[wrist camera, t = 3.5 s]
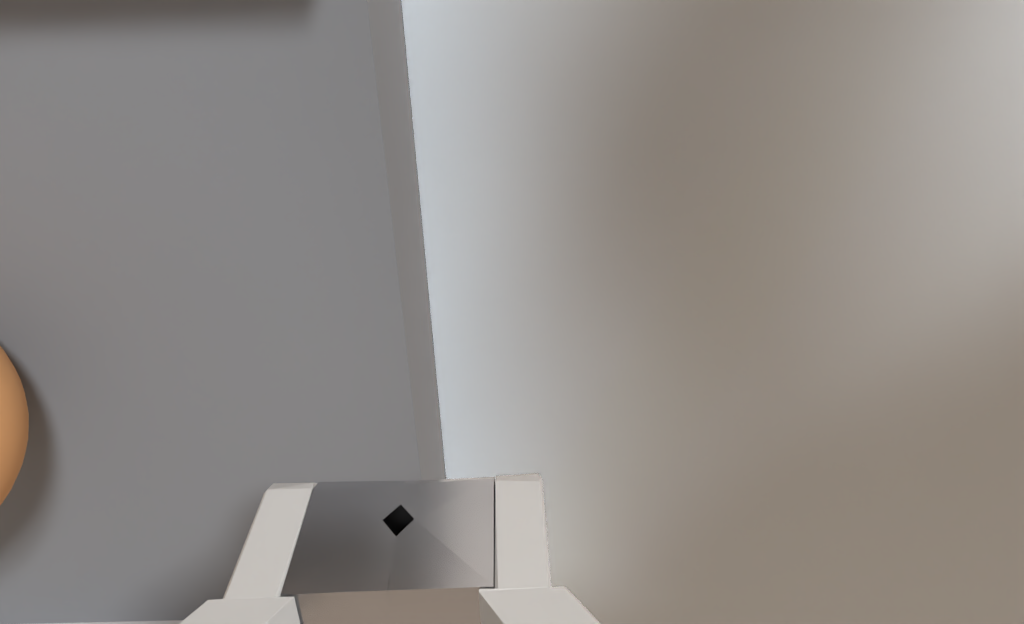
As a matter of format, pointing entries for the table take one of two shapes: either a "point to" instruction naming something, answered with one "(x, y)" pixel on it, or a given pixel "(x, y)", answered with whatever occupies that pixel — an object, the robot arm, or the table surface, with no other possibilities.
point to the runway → (201, 286)
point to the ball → (11, 425)
